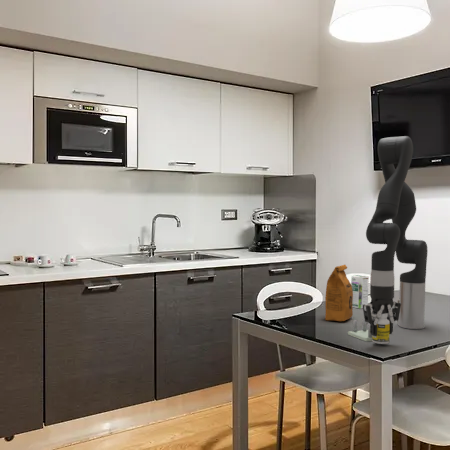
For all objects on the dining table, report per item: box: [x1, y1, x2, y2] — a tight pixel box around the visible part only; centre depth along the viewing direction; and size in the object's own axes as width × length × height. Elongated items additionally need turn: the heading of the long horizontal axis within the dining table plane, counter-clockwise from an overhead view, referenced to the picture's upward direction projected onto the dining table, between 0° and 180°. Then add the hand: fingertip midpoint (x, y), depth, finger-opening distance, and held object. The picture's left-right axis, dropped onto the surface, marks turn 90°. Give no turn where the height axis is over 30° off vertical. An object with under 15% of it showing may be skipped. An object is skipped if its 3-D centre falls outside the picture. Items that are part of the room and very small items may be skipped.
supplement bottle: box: [371, 313, 390, 345], centre depth 168 cm, size 5×5×10 cm
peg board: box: [347, 319, 373, 342], centre depth 178 cm, size 10×9×5 cm
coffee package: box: [324, 264, 354, 322], centre depth 206 cm, size 10×12×22 cm
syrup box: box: [350, 274, 370, 310], centre depth 233 cm, size 6×6×14 cm
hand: (381, 334), depth 167 cm, fingers closed on supplement bottle, 5 cm apart
